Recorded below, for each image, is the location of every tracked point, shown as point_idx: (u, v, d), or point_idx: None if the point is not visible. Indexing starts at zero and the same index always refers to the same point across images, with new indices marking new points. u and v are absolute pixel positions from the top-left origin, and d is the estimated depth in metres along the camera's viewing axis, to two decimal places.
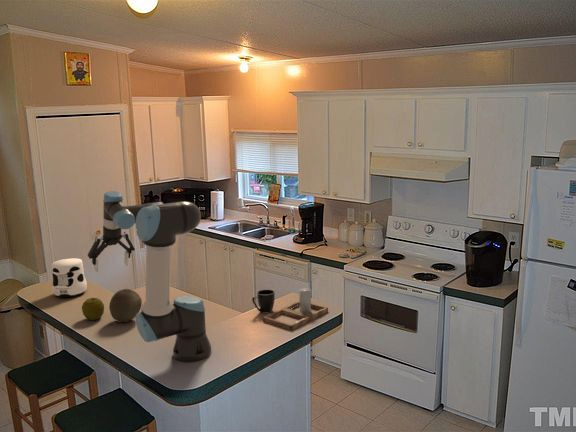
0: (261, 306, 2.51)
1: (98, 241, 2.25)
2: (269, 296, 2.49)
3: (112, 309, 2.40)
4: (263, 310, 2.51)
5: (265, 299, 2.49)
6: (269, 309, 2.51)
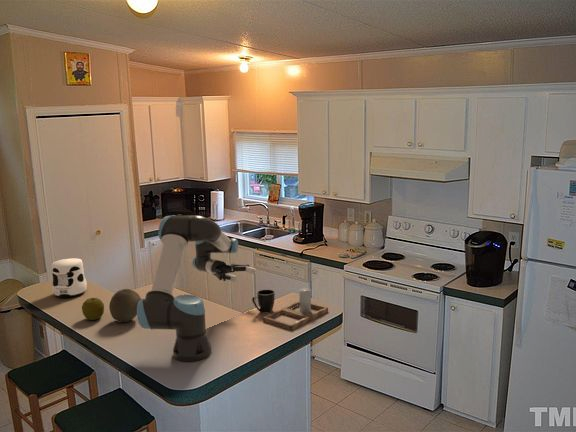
0: (261, 306, 2.51)
1: (215, 270, 2.60)
2: (269, 296, 2.49)
3: (112, 309, 2.40)
4: (263, 310, 2.51)
5: (265, 299, 2.49)
6: (269, 309, 2.51)
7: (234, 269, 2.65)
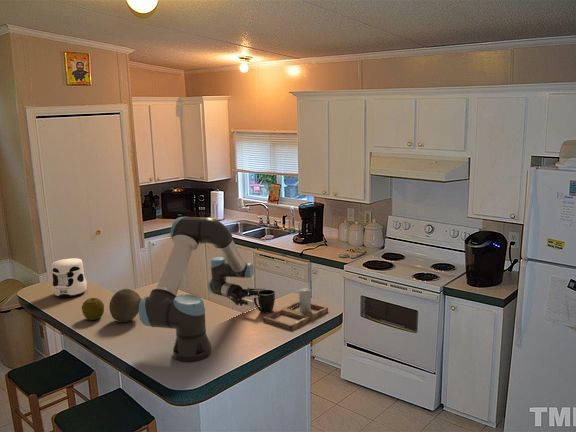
0: (262, 306, 2.50)
1: (231, 294, 2.57)
2: (270, 296, 2.49)
3: (112, 309, 2.40)
4: (264, 310, 2.51)
5: (266, 299, 2.48)
6: (270, 309, 2.51)
7: (250, 293, 2.62)
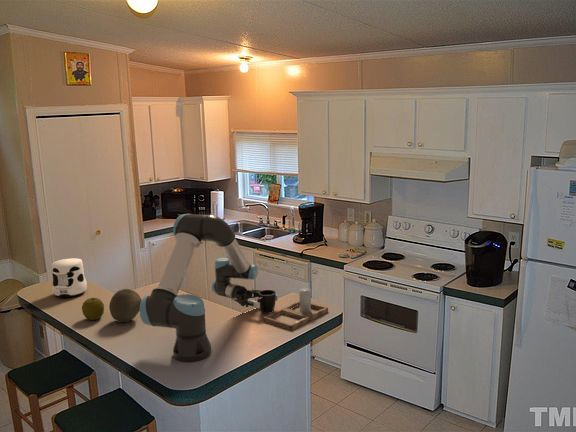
0: (264, 307, 2.49)
1: (236, 296, 2.54)
2: (273, 296, 2.49)
3: (112, 309, 2.40)
4: (266, 311, 2.50)
5: (269, 299, 2.48)
6: (272, 309, 2.51)
7: (255, 295, 2.59)
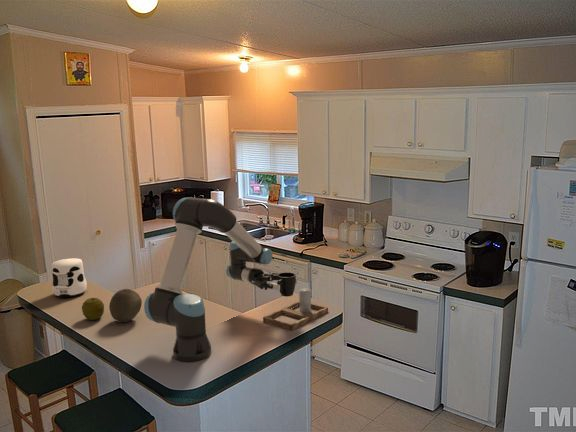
0: (284, 290, 2.38)
1: (253, 279, 2.42)
2: (293, 278, 2.37)
3: (112, 309, 2.40)
4: (286, 294, 2.39)
5: (289, 282, 2.37)
6: (292, 292, 2.40)
7: (273, 278, 2.47)
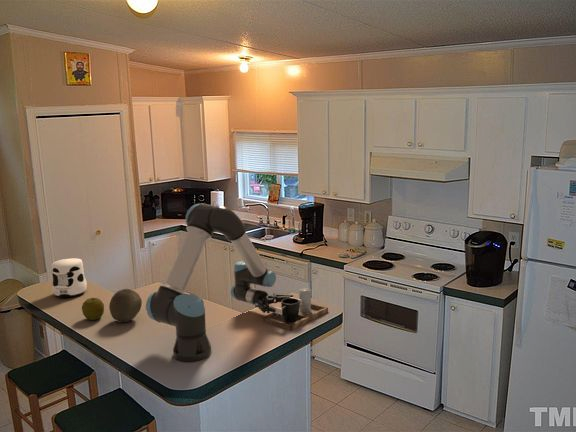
0: (288, 316, 2.37)
1: (257, 301, 2.42)
2: (296, 305, 2.37)
3: (112, 309, 2.40)
4: (290, 320, 2.38)
5: (292, 308, 2.36)
6: (295, 318, 2.39)
7: (277, 300, 2.47)
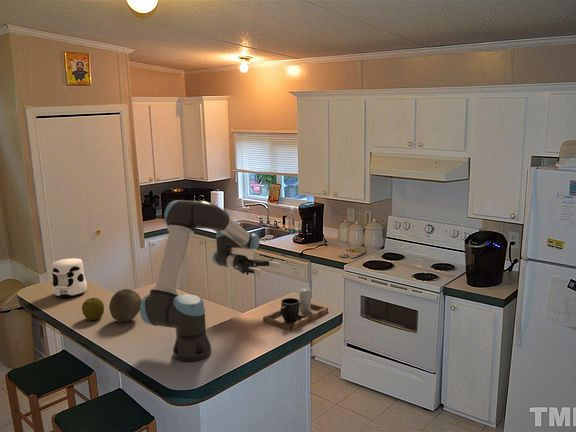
0: (288, 316, 2.37)
1: (237, 264, 2.49)
2: (296, 305, 2.37)
3: (112, 309, 2.40)
4: (290, 320, 2.38)
5: (292, 308, 2.36)
6: (295, 318, 2.39)
7: (257, 264, 2.54)
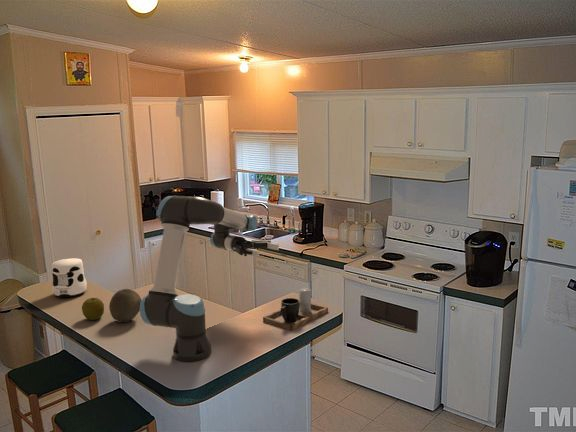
0: (288, 316, 2.37)
1: (235, 245, 2.46)
2: (296, 305, 2.37)
3: (112, 309, 2.40)
4: (290, 320, 2.38)
5: (292, 308, 2.36)
6: (295, 318, 2.39)
7: (255, 245, 2.51)
